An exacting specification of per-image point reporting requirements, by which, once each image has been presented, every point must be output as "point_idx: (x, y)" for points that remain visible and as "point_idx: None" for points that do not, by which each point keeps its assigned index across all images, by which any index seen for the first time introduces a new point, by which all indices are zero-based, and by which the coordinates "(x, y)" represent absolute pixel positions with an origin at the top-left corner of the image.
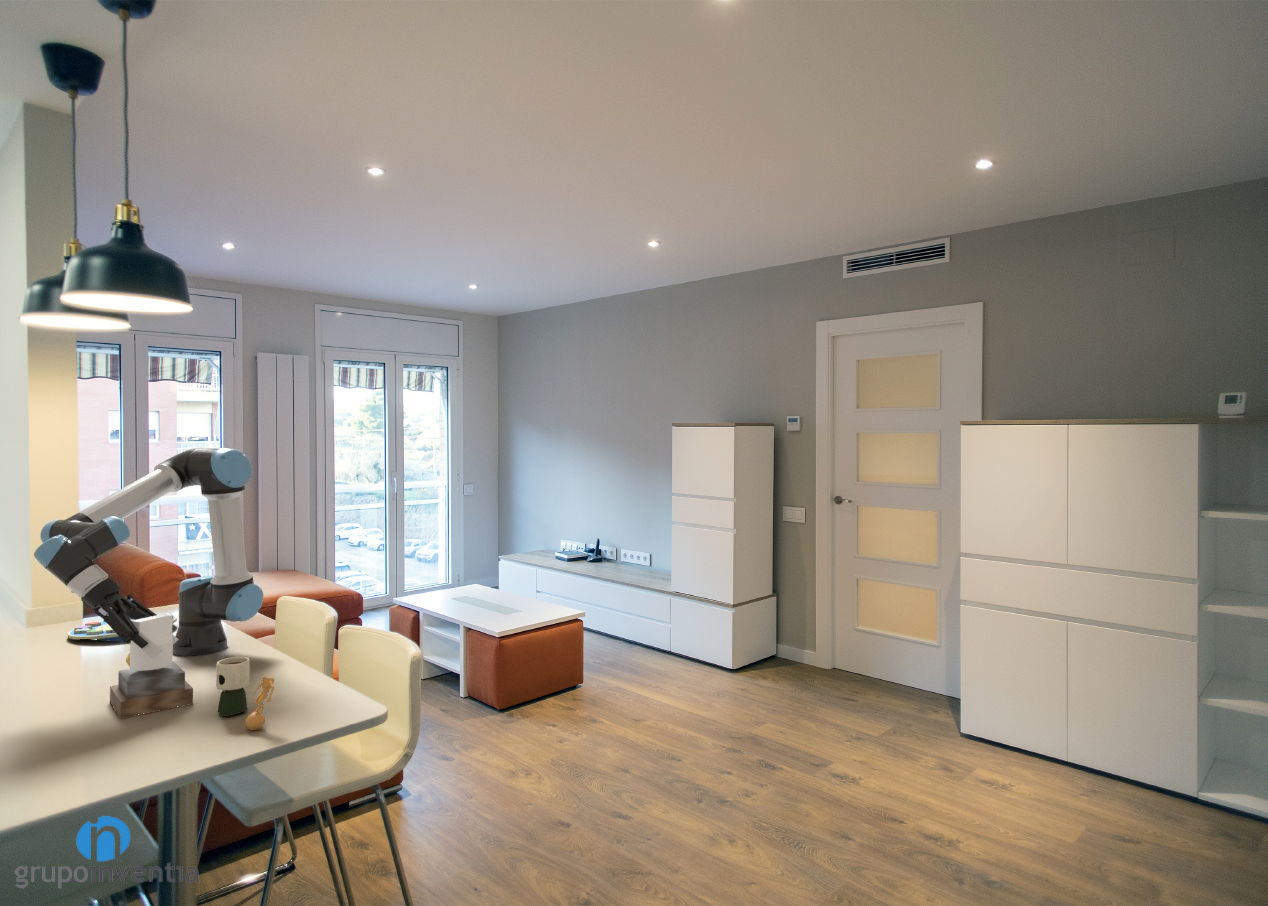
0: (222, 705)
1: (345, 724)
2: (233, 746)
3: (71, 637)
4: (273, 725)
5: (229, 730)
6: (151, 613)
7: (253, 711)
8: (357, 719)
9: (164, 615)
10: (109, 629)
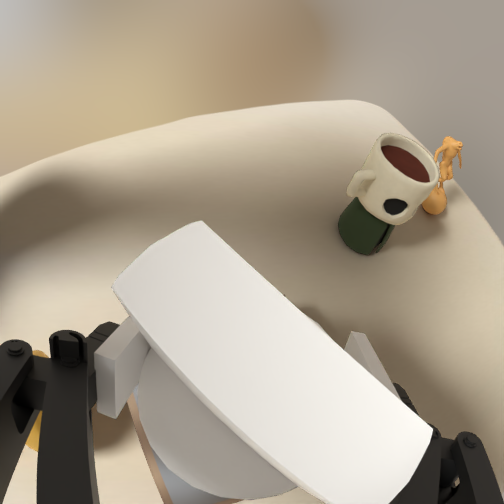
0: (388, 236)
1: (409, 132)
2: (472, 234)
3: None
4: None
5: (429, 238)
6: (3, 395)
7: (439, 193)
8: (394, 121)
9: (203, 277)
10: None
